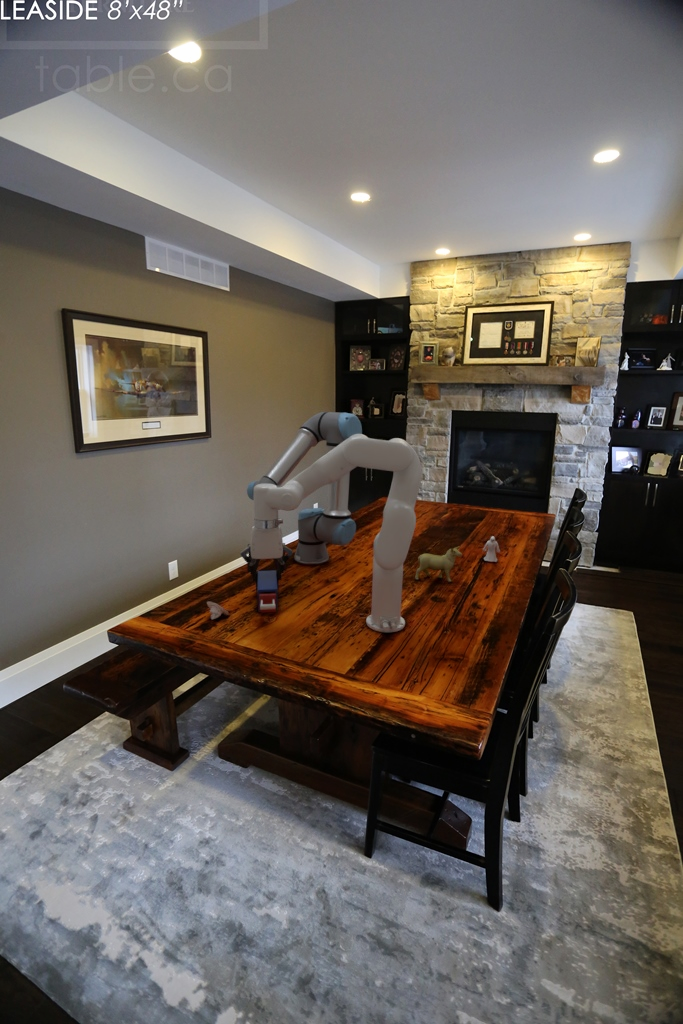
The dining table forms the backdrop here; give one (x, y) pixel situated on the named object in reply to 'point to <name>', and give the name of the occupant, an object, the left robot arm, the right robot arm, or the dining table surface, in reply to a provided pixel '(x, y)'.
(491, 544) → the figurine
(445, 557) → the toy
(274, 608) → the drawer
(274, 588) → the cabinet
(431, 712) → the dining table surface
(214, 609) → the seashell
